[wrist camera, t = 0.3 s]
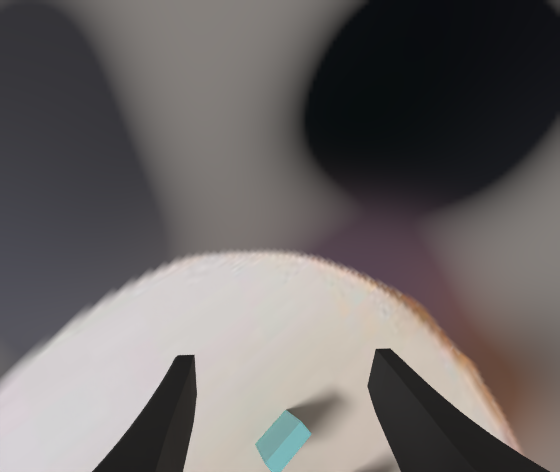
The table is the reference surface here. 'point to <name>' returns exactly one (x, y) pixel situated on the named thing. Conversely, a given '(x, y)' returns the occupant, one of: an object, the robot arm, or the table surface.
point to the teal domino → (282, 441)
